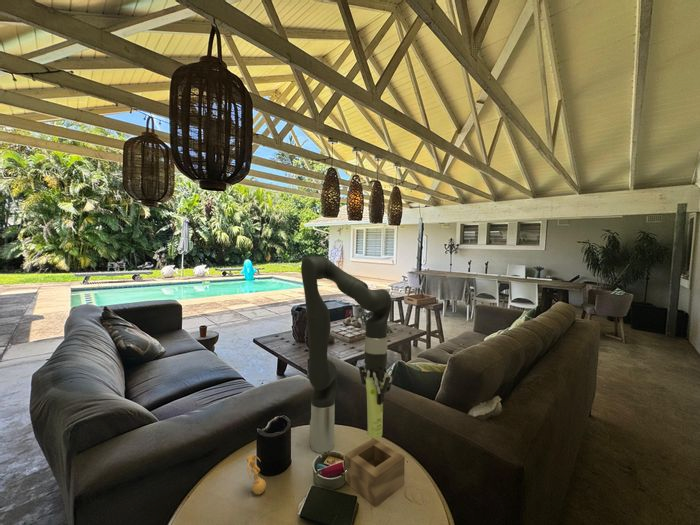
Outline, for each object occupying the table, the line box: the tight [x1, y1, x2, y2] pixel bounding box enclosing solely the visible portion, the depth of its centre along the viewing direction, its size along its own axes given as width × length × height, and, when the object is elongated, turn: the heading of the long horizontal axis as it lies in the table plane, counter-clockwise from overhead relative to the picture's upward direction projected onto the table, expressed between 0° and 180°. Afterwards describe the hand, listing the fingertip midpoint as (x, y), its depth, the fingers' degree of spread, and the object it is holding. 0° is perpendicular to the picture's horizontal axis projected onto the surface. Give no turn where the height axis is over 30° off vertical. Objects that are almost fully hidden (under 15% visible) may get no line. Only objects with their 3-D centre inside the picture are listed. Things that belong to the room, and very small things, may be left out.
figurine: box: [246, 453, 267, 495], centre depth 94 cm, size 8×6×12 cm
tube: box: [365, 377, 384, 439], centre depth 98 cm, size 6×5×20 cm
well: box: [344, 438, 406, 508], centre depth 98 cm, size 14×14×9 cm
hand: (375, 401), depth 98 cm, fingers closed on tube, 4 cm apart
